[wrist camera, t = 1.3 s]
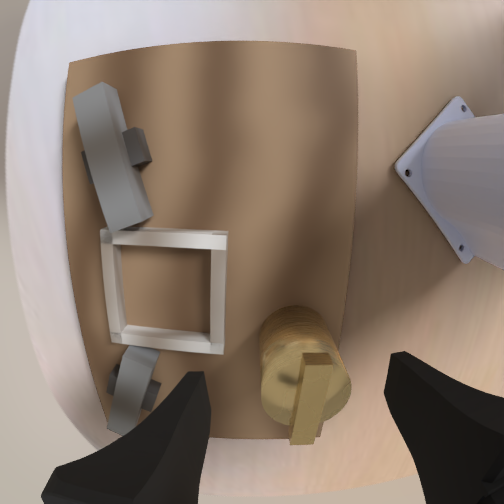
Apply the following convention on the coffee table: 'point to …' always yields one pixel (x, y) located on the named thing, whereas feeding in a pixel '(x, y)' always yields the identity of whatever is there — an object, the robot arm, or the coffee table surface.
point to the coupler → (300, 372)
